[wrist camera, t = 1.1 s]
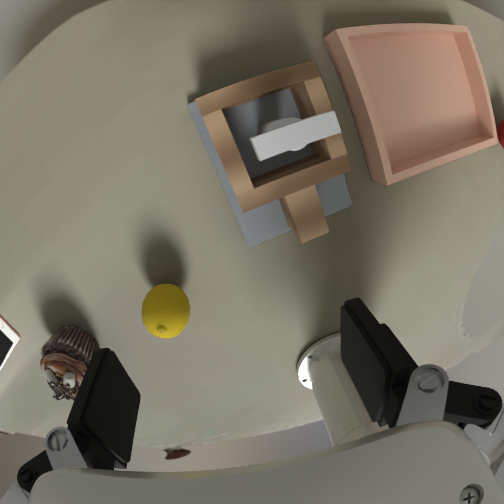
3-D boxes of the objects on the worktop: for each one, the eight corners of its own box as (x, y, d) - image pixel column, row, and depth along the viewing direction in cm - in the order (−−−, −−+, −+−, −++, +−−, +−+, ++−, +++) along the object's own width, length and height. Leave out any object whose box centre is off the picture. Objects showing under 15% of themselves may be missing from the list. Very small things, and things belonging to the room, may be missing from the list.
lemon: (164, 263, 34) (153, 300, 26) (200, 289, 35) (198, 330, 28) (140, 293, 35) (126, 332, 27) (175, 317, 37) (168, 359, 29)
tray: (451, 29, 24) (467, 26, 20) (481, 139, 31) (498, 143, 28) (322, 38, 25) (335, 29, 21) (371, 179, 32) (387, 185, 29)
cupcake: (88, 317, 35) (63, 365, 26) (115, 365, 39) (101, 414, 30) (42, 323, 35) (15, 366, 26) (70, 368, 39) (52, 412, 30)
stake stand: (187, 105, 27) (169, 88, 16) (301, 66, 26) (350, 34, 15) (247, 244, 34) (264, 303, 22) (348, 203, 33) (406, 240, 22)
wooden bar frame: (198, 104, 26) (194, 99, 21) (298, 70, 25) (313, 60, 21) (255, 240, 32) (263, 259, 28) (344, 204, 32) (364, 217, 27)
